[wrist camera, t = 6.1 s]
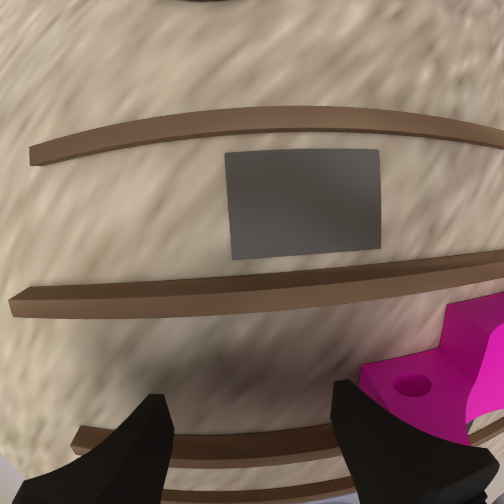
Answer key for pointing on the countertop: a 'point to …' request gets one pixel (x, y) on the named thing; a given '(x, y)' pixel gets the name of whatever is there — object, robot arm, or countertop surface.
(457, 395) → the magenta curved bracket
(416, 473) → the robot arm
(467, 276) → the wooden slat rack
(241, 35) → the countertop surface
